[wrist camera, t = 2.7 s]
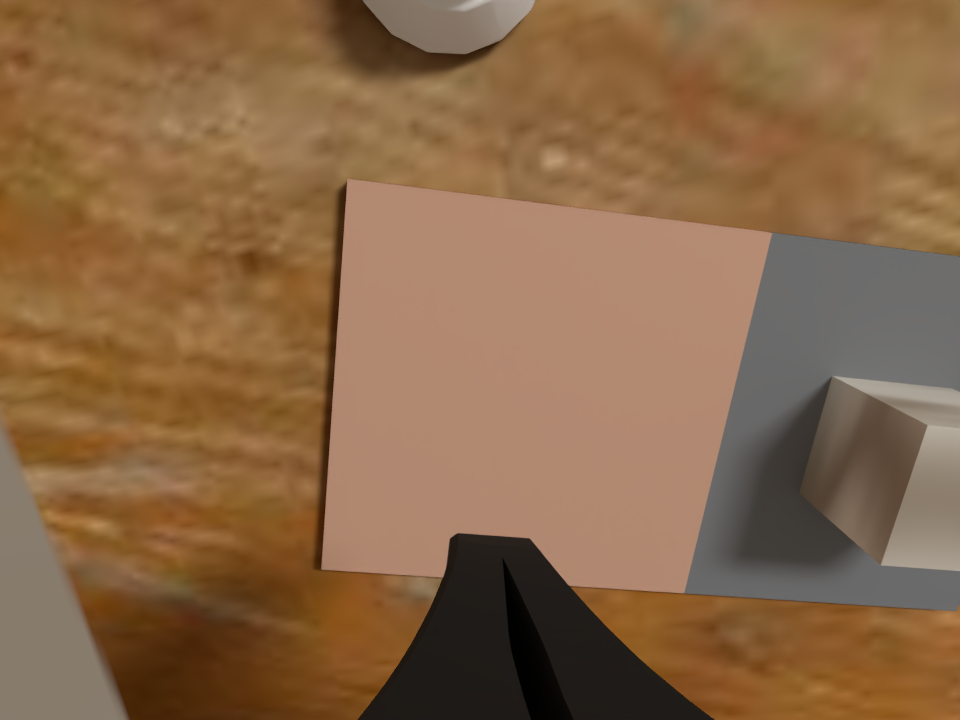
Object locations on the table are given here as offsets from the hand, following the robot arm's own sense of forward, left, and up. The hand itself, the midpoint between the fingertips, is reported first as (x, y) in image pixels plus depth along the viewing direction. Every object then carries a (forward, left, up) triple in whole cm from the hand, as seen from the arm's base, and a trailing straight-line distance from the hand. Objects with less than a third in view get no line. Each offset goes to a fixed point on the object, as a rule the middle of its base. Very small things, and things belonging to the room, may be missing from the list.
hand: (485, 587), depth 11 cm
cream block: (0, -13, -9) cm, 16 cm away
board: (0, -8, -9) cm, 12 cm away
